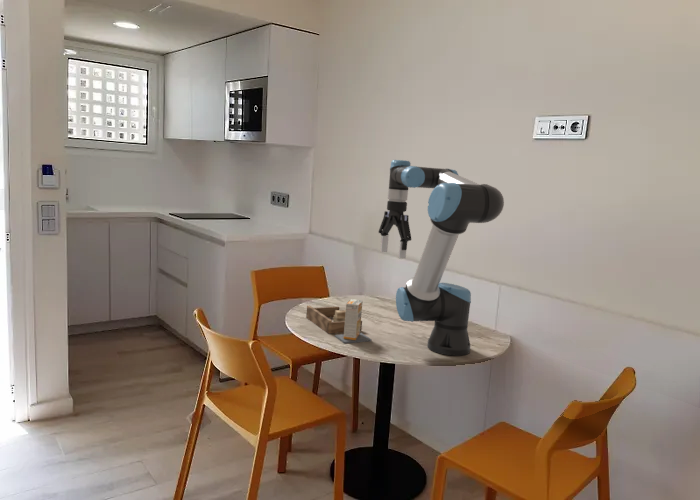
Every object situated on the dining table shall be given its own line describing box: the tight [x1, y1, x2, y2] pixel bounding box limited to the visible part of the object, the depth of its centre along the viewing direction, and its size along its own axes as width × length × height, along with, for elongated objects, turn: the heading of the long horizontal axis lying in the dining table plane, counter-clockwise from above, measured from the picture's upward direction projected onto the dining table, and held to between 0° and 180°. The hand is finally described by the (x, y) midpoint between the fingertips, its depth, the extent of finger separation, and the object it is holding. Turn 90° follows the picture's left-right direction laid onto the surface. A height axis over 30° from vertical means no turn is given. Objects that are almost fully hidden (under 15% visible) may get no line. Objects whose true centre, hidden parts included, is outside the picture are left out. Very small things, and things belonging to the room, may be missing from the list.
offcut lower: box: [332, 315, 345, 322], centre depth 224 cm, size 9×3×3 cm, turn 47°
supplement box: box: [343, 298, 363, 340], centre depth 206 cm, size 8×5×13 cm, turn 168°
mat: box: [334, 332, 373, 344], centre depth 206 cm, size 8×11×1 cm
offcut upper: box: [335, 309, 346, 319], centre depth 224 cm, size 7×3×2 cm, turn 108°
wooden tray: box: [305, 305, 363, 335], centre depth 222 cm, size 21×14×5 cm, turn 26°
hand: (392, 255), depth 221 cm, fingers open, 13 cm apart
